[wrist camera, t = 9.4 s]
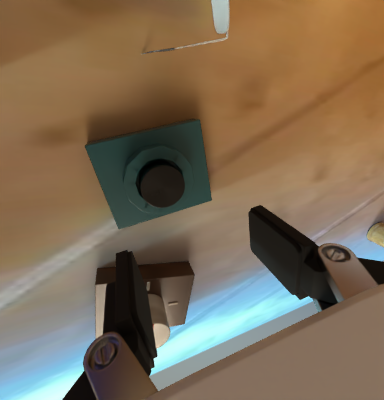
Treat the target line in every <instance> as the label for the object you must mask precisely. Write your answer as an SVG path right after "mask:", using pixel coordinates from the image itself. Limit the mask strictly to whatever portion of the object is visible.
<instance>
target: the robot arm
mask: <svg viewBox="0 0 384 400" xmlns="http://www.w3.org/2000/svg"><path fill="white" fill-rule="evenodd" d="M249 231H250V247H251V250H252V252H253V253H254V254H255V255H256V256H257V257H258V258H259V259H260V261H261V262H262V263H263V264H264V265H265V266H266V267H267V268H268V269H269V270H270V271H271V273H272V274H273V275H274V276H275V277H276V278H277V279H278V280H279V281H280V282H281V283H282V284H283V286H284V287H285V288H286V289H287V290H288V291H289V292H290V293H291V294H292V295H296V296H297V297H298V298H299V299H300V300H301V299H303V298H305V297H307V296H309V297H310V298H313V301H314V303H315V306H316V308H317V311H318V313H317V314H314V315H312V316H310V317H308V318H306V319H304V320H302V321H300V322H298V323H296V324H293V325H291V326H289V327H287V328H285V329H283V330H281V331H279V332H277V333H275V334H273V335H271V336H269V337H267V338H265V339H262V340H260V341H259V342H256V343H255V344H252V345H250V346H248V347H246V348H244V349H242V350H240V351H238V352H236V353H234V354H232V355H230V356H228V357H226V358H224V359H222V360H220V361H218V362H216V363H214V364H211V365H209V366H208V367H205V368H203V369H201V370H199V371H197V372H195V373H193V374H191V375H189V376H187V377H185V378H183V379H181V380H180V381H178V382H176V383H174V384H172V385H170V386H168V387H166V388H164V389H162V390H160V391H158V390H157V389H156V387H155V385H154V384H153V382H152V381H151V379H150V378H149V375H150V373H151V368H153V367H154V360H153V358H155V357H157V350H156V343H155V337H154V331H153V324H152V318H151V311H150V305H149V299H148V292H147V288H146V285H145V283H144V280H143V278H142V275H141V273H140V270H139V268H138V265H137V263H136V260H135V258H134V255H133V253H132V251H131V252H128V251H127V250H125V251H122V252H119V253H116V281H114V282H111V283H109V284H107V285H106V293H105V308H104V322H103V334H102V335H101V336H99V337H98V338H96V339H95V340H94V341H93V342H92V343H91V345H90V346H89V348H88V349H87V351H86V354H85V356H84V361H83V366H84V370H85V371H84V372H83V373H82V375H81V376H80V377H79V378H78V380H77V381H76V382H75V384H74V385H73V386H72V388H71V389H70V390H69V392H68V393H67V394H66V396H65V397H64V398H63V399H62V400H384V262H381V261H375V260H369V259H363V258H357V257H356V256H355V254H354V253H353V252H352V251H351V250H350V249H348V248H347V247H345V246H342V245H339V244H335V243H327V244H323V245H321V246H320V247H319V246H317V245H316V244H315V242H313V241H312V240H310V239H309V238H308V237H306V236H305V235H303V234H302V233H300V232H299V231H297V230H296V229H295V228H293V227H292V226H290V225H289V224H287V223H286V222H284V221H283V220H282V219H280V218H279V217H277V216H276V215H274V214H273V213H272V212H270V211H269V210H267V209H266V208H264V207H263V206H261V205H259V206H256V207H253V208H251V210H250V211H249Z"/></svg>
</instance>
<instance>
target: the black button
mask: <svg viewBox="0 0 384 400" xmlns="http://www.w3.org/2000/svg"><path fill="white" fill-rule="evenodd" d="M139 186H140V190H141V194H142V197H143V198H144V200H145V201H146V202H147V203H148V204H150V205H152V206H154V207H158V208H166V207H169V206H172V205H174V204H175V203H177V202H178V201H179V200H180V198H181V197H182V195H183V193H184V190H185V181H184V178H183V176H182V174H181V173H180V172H179V171H178V170H177V169H176V168H175V167H174V166H173V165H172V164H170V163H168V162H164V161H157V162H153V163H151V164H149V165H147V166H146V167H145V168H144V169H143V171H142V172H141V174H140V177H139Z"/></svg>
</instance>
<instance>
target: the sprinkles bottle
mask: <svg viewBox="0 0 384 400" xmlns="http://www.w3.org/2000/svg"><path fill="white" fill-rule="evenodd" d="M367 238H368V240H370V241H373V242H375V243H376V244H378V245H380V246H382V247H384V223H377V224H375V225H374V226H372V227H371V229H370V230H369V232H368V234H367Z"/></svg>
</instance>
